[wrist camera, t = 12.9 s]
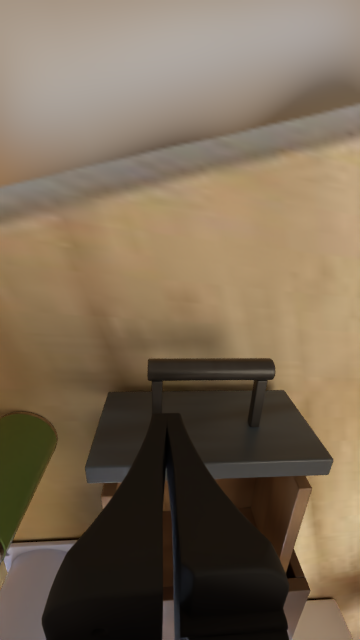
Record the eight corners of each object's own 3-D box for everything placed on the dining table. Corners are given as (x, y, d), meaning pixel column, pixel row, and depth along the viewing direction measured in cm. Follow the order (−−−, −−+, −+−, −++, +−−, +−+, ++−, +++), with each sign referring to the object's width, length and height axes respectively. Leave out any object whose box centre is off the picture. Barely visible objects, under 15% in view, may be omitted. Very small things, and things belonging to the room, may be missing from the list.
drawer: (103, 333, 17) (73, 391, 11) (295, 334, 18) (358, 388, 12) (117, 506, 23) (102, 601, 17) (260, 500, 24) (291, 588, 18)
